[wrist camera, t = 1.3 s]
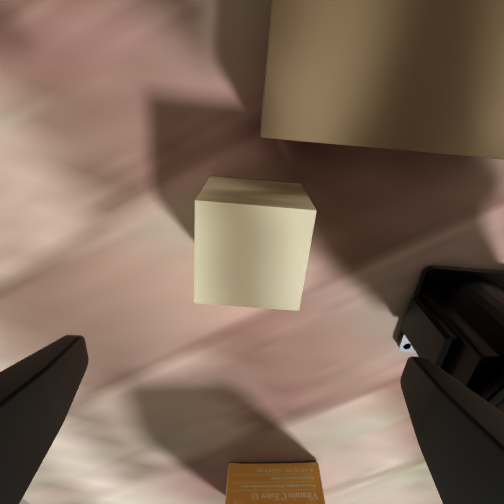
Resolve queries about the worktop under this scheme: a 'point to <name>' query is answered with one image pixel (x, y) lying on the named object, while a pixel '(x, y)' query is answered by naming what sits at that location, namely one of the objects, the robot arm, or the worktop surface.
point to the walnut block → (387, 74)
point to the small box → (274, 484)
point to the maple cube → (252, 243)
